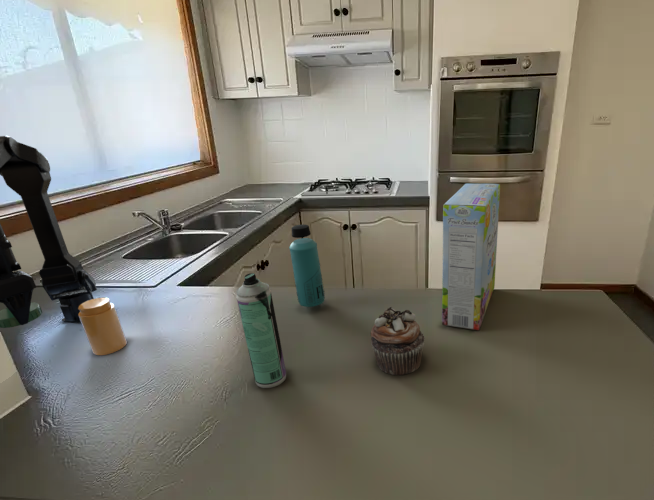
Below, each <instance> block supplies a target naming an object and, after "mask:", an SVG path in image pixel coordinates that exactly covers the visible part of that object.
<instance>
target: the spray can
mask: <svg viewBox="0 0 654 500" xmlns="http://www.w3.org/2000/svg"><path fill="white" fill-rule="evenodd" d="M235 293H236V295H235V297H236V301H237V306H238V310H239V311H238V312H239V315H240V319H241V320H240V321H241V324H242V329H243V333H244V338H245V342H246V346H247V350H248V356H249V360H250V365H251V369H252V373H253V377H254V382H255V384H256V386H257V387H259V388H262V389H270V388H275V387H277V386H280V385H281V384H282V383H284V381H285V380H286V379H287V370H286V365H285V359H284V353H283V349H282V343H281V338H280V333H279V328H278V321H277V317H276V311H275V306H274V300H273V295H272V291H271V288H270V285H269V283H267V282H262V281H261V279H259V278H257V275H256V273H255V272H250V273H247V274H245V276H244V280H243V282H242V285H241V286H240V287H238V288H237V289H236V291H235Z"/></svg>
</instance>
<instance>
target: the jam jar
mask: <svg viewBox="0 0 654 500" xmlns="http://www.w3.org/2000/svg"><path fill="white" fill-rule="evenodd" d="M78 309H79V310H80V312H79V314H78V315H79V318H80V321H81V322H80V323H81V325H82V328H83V331H84V334H85V336H86V338H87V340H88V341H87V342H88V343H89V346H90V349H91V350H92V354H93V355H95V356H106V355H110V354H114V353H116V352H118V351H121V350H122V349H123V348H125V347H126V345H127V344H128V341H127V338H126V335H125V332H124V329H123V326H122V324H121V320H120V317H119V315H118V313H117V312H118V311H117V310H116V307H115V304H114V303H112V302H111V300H110V298H109V297H104V296H103V297H95V298H94V299H92V300H89V301H86V302H84V303H82V304H81V305H80V306H79V308H78Z"/></svg>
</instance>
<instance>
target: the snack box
mask: <svg viewBox="0 0 654 500" xmlns="http://www.w3.org/2000/svg"><path fill="white" fill-rule="evenodd" d="M500 196H501V184H500V183H469V182H468V183H464V184H463V186H461V187H460V188H459V189H458V190H457V191H456V192H455V193H454V194H453V195H452V196H451V197H450V198H449V199H448V200H447V201H446V202H445V203H444V204H443V205H442V206H443V207H442V210H443V211H442V276H441V277H442V278H441V279H442V281H441V284H442V286H441V287H442V288H441V290H442V292H441V325H442V326H446V327H454V328H460V329H467V330H473V331H480V329H481V326H482V324H483V321H484V318H485V315H486V312H487V309H488V308H489V307H488V306H489V304H490V301H491V298H492V295H493V292H494V289H495V286H496V285H495V284H496V267H497V249H498V248H497V247H498V234H499V233H498V231H499V216H500V215H499V214H500V213H499V212H500V199H501V198H500Z"/></svg>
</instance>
